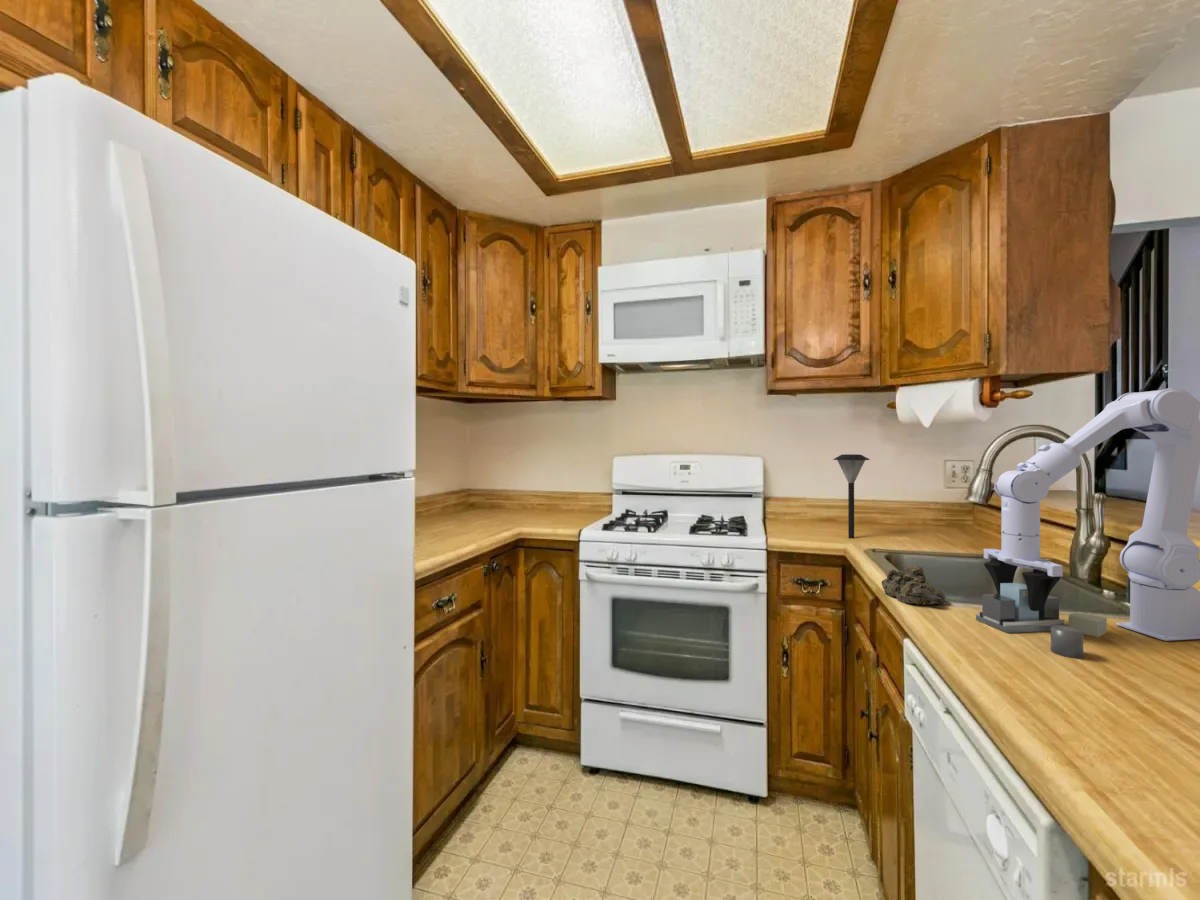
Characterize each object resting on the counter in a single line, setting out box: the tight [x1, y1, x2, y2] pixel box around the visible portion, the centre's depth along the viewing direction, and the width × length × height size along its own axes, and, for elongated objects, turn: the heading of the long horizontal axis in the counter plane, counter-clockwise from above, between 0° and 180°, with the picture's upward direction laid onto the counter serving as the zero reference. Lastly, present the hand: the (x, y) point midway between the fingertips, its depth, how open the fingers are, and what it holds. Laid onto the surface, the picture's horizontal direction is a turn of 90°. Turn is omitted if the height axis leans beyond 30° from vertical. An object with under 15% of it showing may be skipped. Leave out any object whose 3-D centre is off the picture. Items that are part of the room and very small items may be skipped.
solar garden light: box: [832, 453, 871, 539], centre depth 183 cm, size 12×12×30 cm
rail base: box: [975, 593, 1068, 634], centre depth 98 cm, size 12×7×6 cm, turn 95°
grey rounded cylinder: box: [1050, 625, 1084, 659], centre depth 85 cm, size 4×4×4 cm
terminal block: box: [1068, 611, 1108, 638], centre depth 94 cm, size 4×4×3 cm
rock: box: [881, 565, 946, 606], centre depth 115 cm, size 13×10×10 cm
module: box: [1000, 582, 1039, 621], centre depth 97 cm, size 4×4×6 cm
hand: (1020, 604), depth 98 cm, fingers open, 6 cm apart
